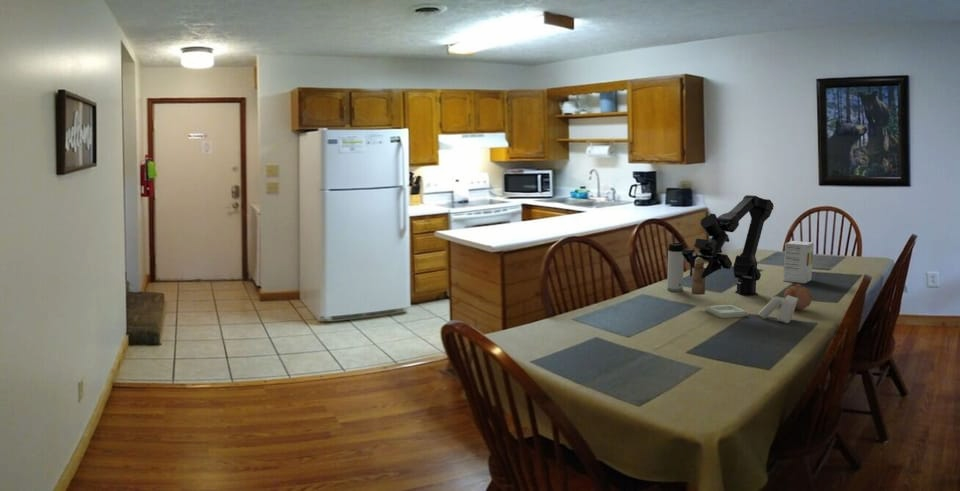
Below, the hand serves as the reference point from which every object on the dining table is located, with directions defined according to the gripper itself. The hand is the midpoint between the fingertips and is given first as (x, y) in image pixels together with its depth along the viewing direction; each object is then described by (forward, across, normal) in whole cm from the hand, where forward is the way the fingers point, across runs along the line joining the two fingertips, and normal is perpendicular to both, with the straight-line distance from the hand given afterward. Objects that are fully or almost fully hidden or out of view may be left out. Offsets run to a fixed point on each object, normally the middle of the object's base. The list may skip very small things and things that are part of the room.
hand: (696, 276), depth 255 cm
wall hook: (+4, +28, +14) cm, 31 cm away
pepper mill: (+4, 0, +6) cm, 7 cm away
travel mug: (-4, -23, +22) cm, 32 cm away
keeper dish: (+8, +12, +9) cm, 17 cm away
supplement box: (-42, +1, +60) cm, 74 cm away
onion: (-9, +26, +26) cm, 38 cm away
